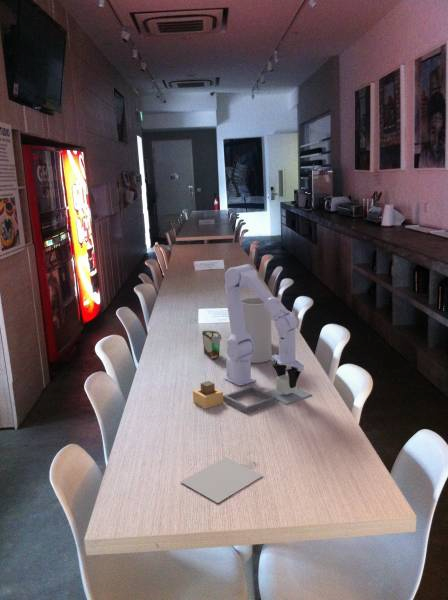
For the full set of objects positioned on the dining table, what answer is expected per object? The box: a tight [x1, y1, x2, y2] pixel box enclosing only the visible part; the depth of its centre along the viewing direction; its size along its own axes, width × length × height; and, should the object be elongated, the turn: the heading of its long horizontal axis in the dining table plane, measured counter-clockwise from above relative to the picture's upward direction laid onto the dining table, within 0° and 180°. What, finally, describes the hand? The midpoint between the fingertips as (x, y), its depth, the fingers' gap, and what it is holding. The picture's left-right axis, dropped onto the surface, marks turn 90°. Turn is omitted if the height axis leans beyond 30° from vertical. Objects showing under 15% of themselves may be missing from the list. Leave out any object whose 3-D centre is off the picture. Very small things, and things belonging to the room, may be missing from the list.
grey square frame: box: [223, 385, 277, 414], centre depth 193 cm, size 13×13×2 cm
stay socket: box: [192, 387, 224, 409], centre depth 193 cm, size 7×7×4 cm
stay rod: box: [200, 380, 216, 395], centre depth 193 cm, size 3×3×7 cm
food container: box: [201, 330, 223, 361], centre depth 240 cm, size 12×6×10 cm, turn 22°
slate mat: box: [265, 387, 312, 405], centre depth 198 cm, size 12×12×1 cm
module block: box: [275, 373, 298, 395], centre depth 197 cm, size 5×5×5 cm
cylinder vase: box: [241, 296, 273, 364], centre depth 232 cm, size 12×12×25 cm
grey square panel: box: [180, 457, 264, 504], centre depth 152 cm, size 23×25×1 cm
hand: (287, 384), depth 197 cm, fingers closed on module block, 5 cm apart
